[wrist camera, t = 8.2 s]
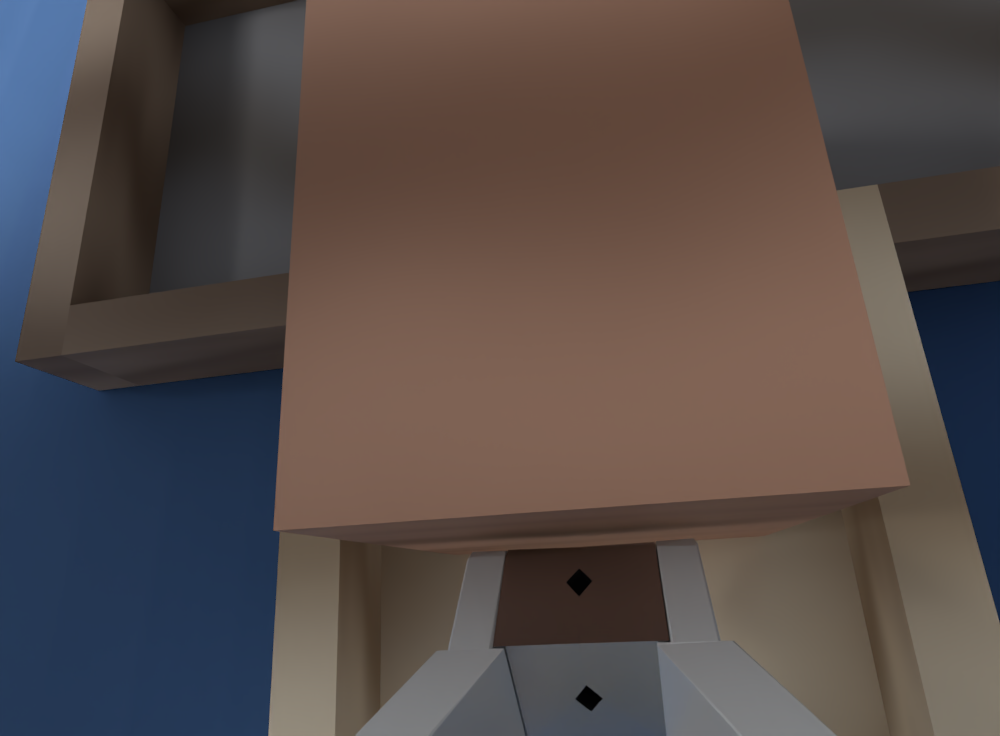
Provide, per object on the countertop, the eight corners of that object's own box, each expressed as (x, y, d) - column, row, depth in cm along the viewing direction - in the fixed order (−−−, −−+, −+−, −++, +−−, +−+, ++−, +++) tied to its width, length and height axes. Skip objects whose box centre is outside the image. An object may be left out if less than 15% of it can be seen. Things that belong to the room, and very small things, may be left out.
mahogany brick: (764, 536, 12) (910, 484, 6) (454, 555, 13) (273, 530, 7) (694, 136, 15) (737, -205, 8) (445, 177, 16) (312, -98, 10)
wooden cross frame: (1552, 951, 9) (1858, 1077, 7) (20, 896, 13) (-106, 960, 11) (971, -301, 18) (1018, -427, 16) (172, -89, 22) (120, -164, 20)
